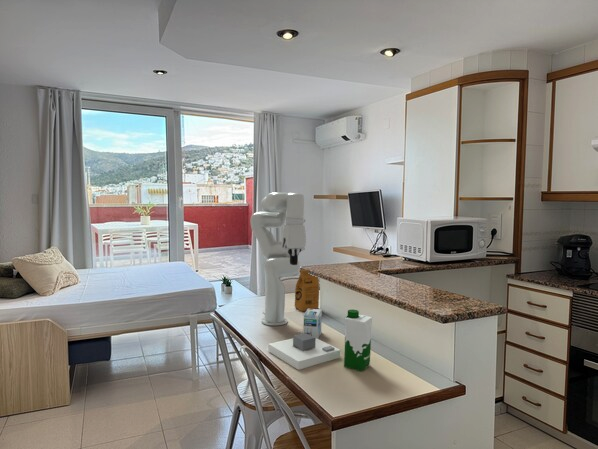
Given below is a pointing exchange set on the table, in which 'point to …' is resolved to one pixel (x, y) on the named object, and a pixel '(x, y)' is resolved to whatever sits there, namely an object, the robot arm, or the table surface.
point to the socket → (304, 353)
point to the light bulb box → (313, 322)
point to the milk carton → (357, 340)
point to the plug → (304, 341)
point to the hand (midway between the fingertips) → (293, 264)
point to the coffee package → (307, 291)
